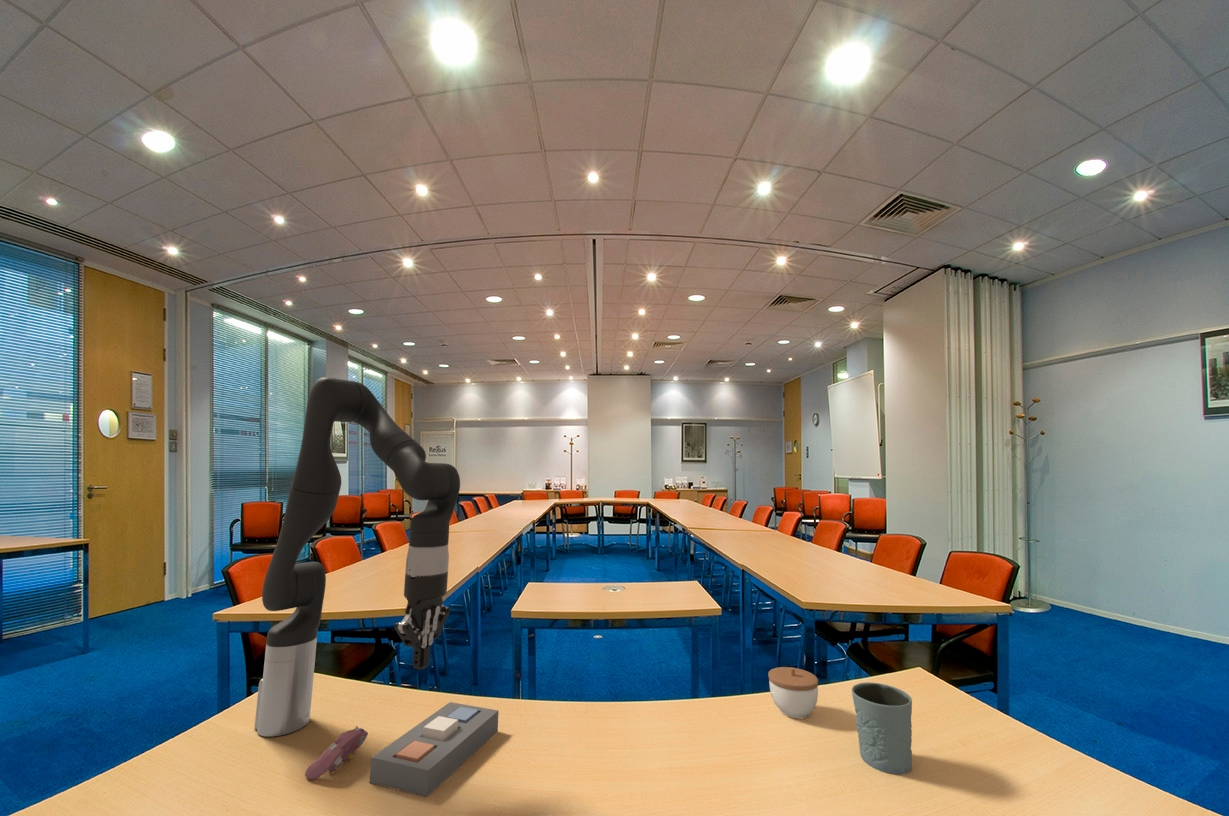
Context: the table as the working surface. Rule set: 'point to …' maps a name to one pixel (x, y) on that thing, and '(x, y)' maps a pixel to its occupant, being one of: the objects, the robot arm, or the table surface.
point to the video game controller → (337, 753)
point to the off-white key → (440, 728)
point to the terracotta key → (415, 751)
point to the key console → (433, 753)
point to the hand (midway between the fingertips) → (420, 667)
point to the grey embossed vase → (884, 726)
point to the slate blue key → (463, 714)
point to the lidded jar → (793, 691)
